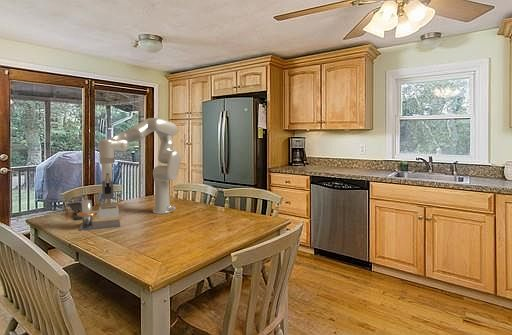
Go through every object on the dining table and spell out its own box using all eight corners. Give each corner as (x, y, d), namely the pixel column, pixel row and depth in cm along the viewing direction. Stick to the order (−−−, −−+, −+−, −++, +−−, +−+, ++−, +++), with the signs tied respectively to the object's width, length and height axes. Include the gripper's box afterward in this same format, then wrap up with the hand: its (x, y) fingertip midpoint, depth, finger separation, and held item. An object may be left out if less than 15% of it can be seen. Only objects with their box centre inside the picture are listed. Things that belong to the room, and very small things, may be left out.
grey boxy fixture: (119, 221, 188) (118, 196, 186) (120, 226, 176) (119, 200, 175) (78, 225, 178) (77, 199, 177) (76, 231, 167) (75, 203, 165)
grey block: (113, 197, 181) (112, 180, 180) (113, 198, 178) (113, 181, 177) (102, 198, 178) (102, 180, 177) (102, 199, 175) (102, 181, 174)
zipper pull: (81, 201, 211) (91, 208, 192) (82, 211, 212) (91, 218, 193) (66, 203, 205) (74, 210, 187) (67, 213, 206) (75, 221, 187)
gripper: (99, 160, 182) (100, 191, 183) (99, 162, 167) (100, 196, 169) (113, 160, 185) (114, 190, 187) (114, 161, 170) (115, 195, 172)
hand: (108, 192), depth 178 cm, fingers closed on grey block, 3 cm apart
